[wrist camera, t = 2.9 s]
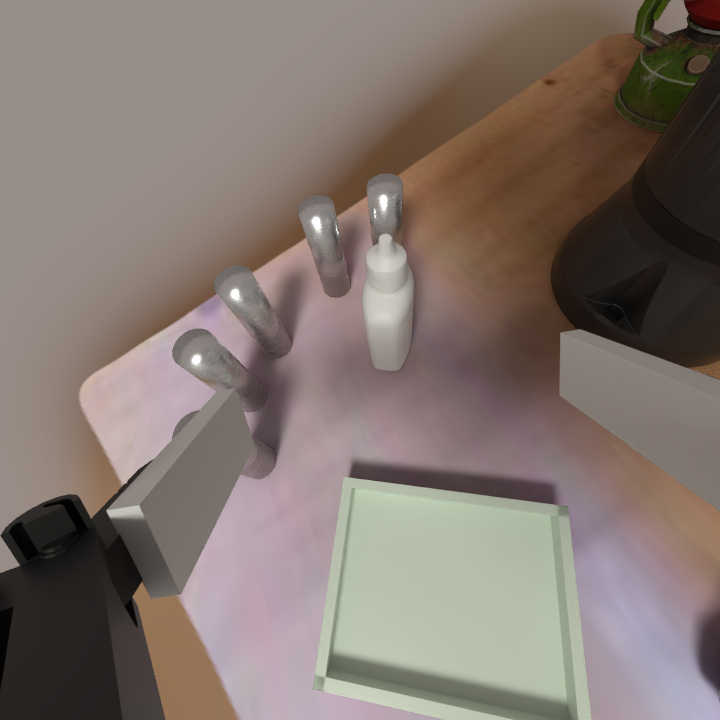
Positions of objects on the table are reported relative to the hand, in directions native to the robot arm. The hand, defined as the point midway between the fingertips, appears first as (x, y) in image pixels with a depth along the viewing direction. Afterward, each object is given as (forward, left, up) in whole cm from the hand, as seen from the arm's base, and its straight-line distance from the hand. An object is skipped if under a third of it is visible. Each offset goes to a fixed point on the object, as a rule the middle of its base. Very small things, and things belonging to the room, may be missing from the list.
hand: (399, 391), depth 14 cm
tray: (-3, +8, -13) cm, 15 cm away
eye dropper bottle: (+2, -9, -13) cm, 16 cm away
